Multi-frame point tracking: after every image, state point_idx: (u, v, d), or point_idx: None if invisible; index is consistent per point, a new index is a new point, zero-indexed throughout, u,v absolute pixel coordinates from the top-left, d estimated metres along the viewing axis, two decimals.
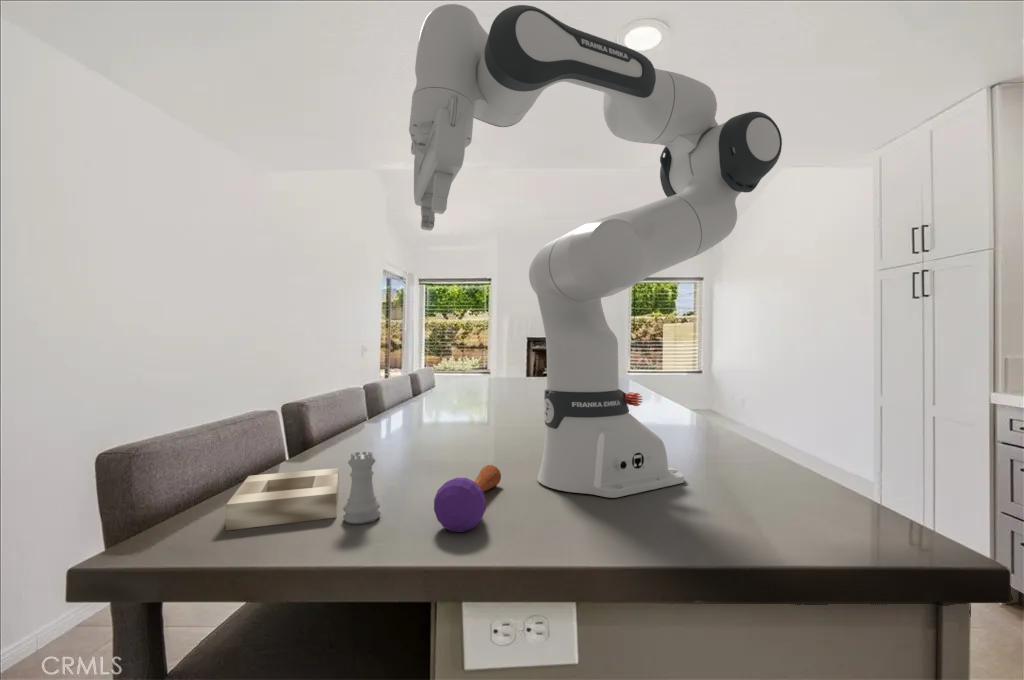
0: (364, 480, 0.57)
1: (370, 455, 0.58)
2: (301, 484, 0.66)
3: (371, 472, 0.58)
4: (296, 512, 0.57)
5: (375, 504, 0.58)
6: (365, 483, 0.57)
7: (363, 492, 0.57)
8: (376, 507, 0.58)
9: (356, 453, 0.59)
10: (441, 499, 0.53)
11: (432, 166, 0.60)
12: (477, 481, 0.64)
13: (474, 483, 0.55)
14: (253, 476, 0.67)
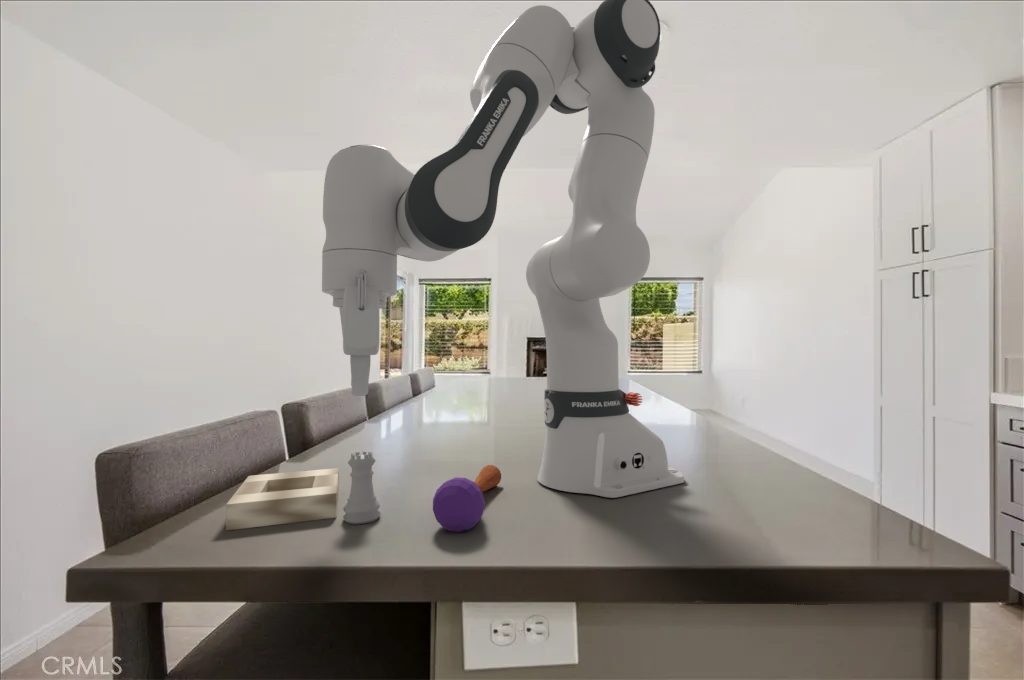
0: (364, 480, 0.57)
1: (370, 455, 0.58)
2: (301, 484, 0.66)
3: (371, 472, 0.58)
4: (296, 512, 0.57)
5: (375, 504, 0.58)
6: (365, 483, 0.57)
7: (363, 492, 0.57)
8: (376, 507, 0.58)
9: (356, 453, 0.59)
10: (439, 499, 0.53)
11: None
12: (477, 481, 0.64)
13: (473, 483, 0.55)
14: (253, 476, 0.67)
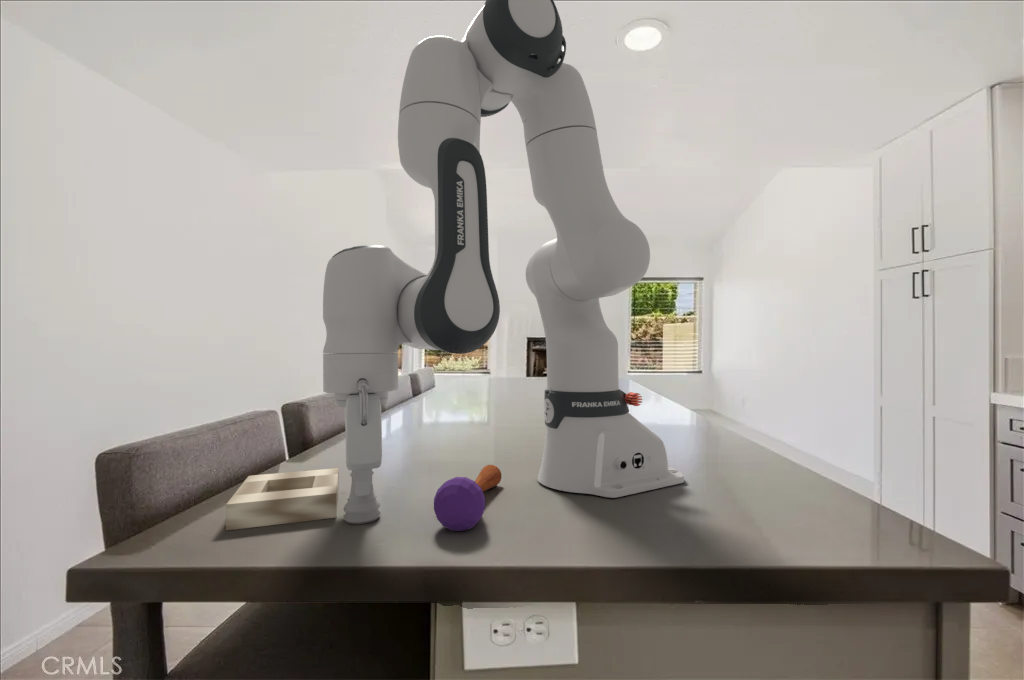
0: None
1: None
2: (301, 484, 0.66)
3: None
4: (296, 512, 0.57)
5: (375, 504, 0.58)
6: None
7: None
8: (376, 507, 0.58)
9: None
10: (440, 498, 0.53)
11: None
12: (477, 481, 0.64)
13: (473, 482, 0.55)
14: (253, 476, 0.67)
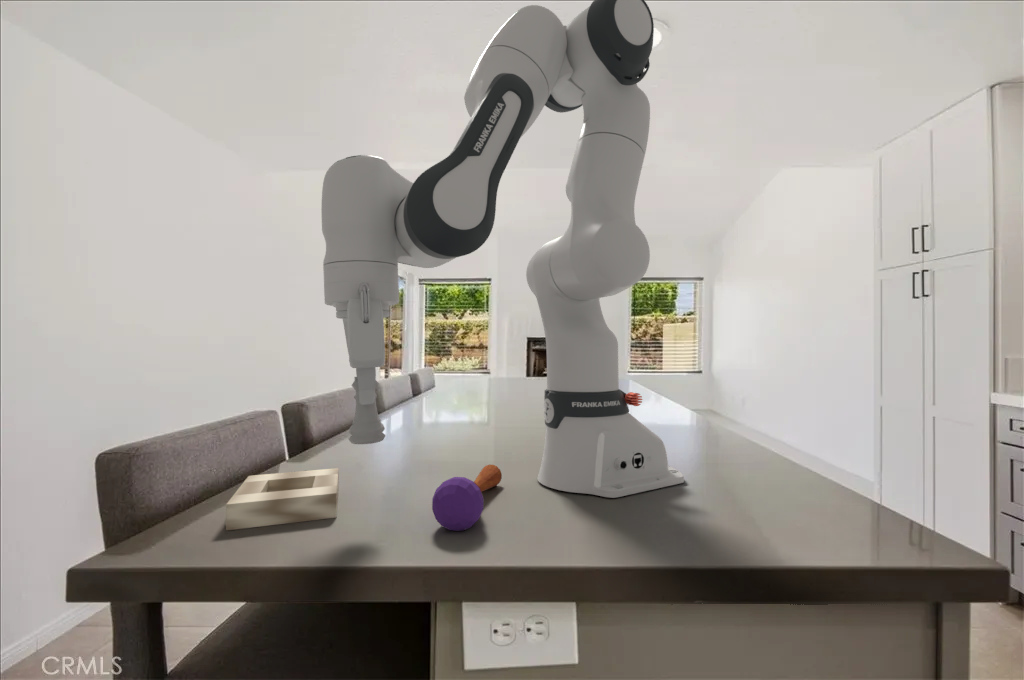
0: None
1: None
2: (301, 484, 0.66)
3: None
4: (296, 512, 0.57)
5: (379, 426, 0.58)
6: (368, 404, 0.58)
7: (367, 413, 0.58)
8: (380, 428, 0.58)
9: None
10: (438, 498, 0.53)
11: None
12: (477, 480, 0.64)
13: (472, 482, 0.55)
14: (253, 476, 0.67)
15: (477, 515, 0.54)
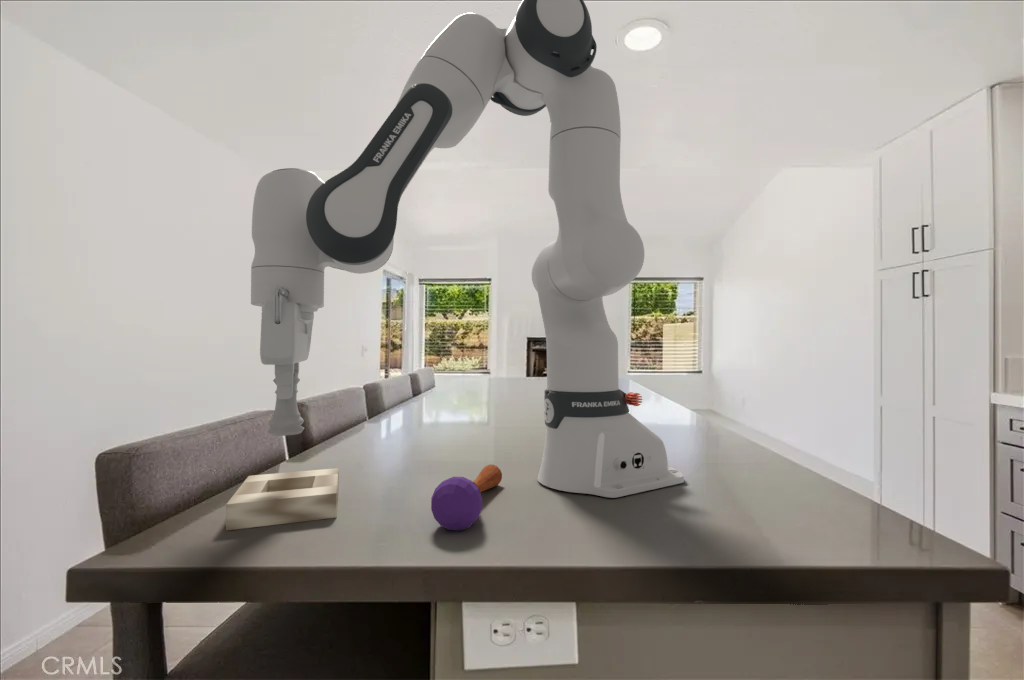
0: None
1: (294, 374, 0.63)
2: (301, 484, 0.66)
3: (294, 390, 0.63)
4: (296, 512, 0.57)
5: (297, 419, 0.62)
6: (287, 399, 0.62)
7: (285, 407, 0.62)
8: (298, 422, 0.62)
9: None
10: (437, 498, 0.54)
11: None
12: (476, 480, 0.65)
13: (471, 482, 0.56)
14: (253, 476, 0.67)
15: (476, 515, 0.54)
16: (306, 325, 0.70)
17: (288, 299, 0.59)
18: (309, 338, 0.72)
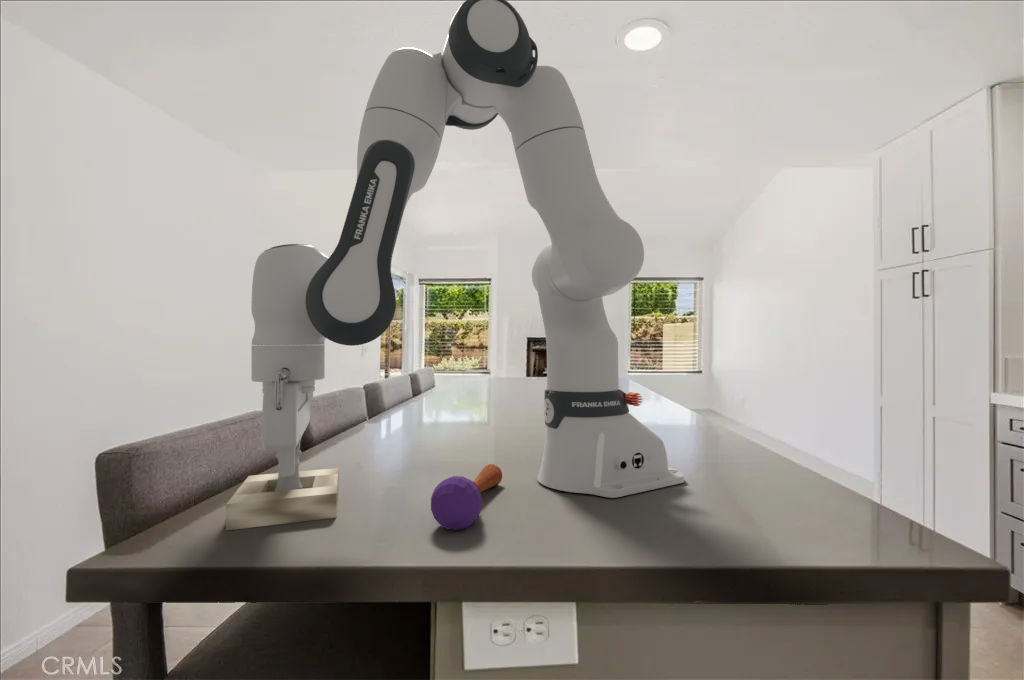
0: None
1: (296, 448, 0.63)
2: (301, 484, 0.66)
3: (296, 464, 0.63)
4: (296, 512, 0.57)
5: None
6: None
7: (288, 482, 0.62)
8: None
9: None
10: (437, 497, 0.54)
11: None
12: (477, 480, 0.65)
13: (470, 482, 0.56)
14: (253, 476, 0.67)
15: (475, 514, 0.54)
16: None
17: (289, 378, 0.59)
18: (310, 403, 0.72)
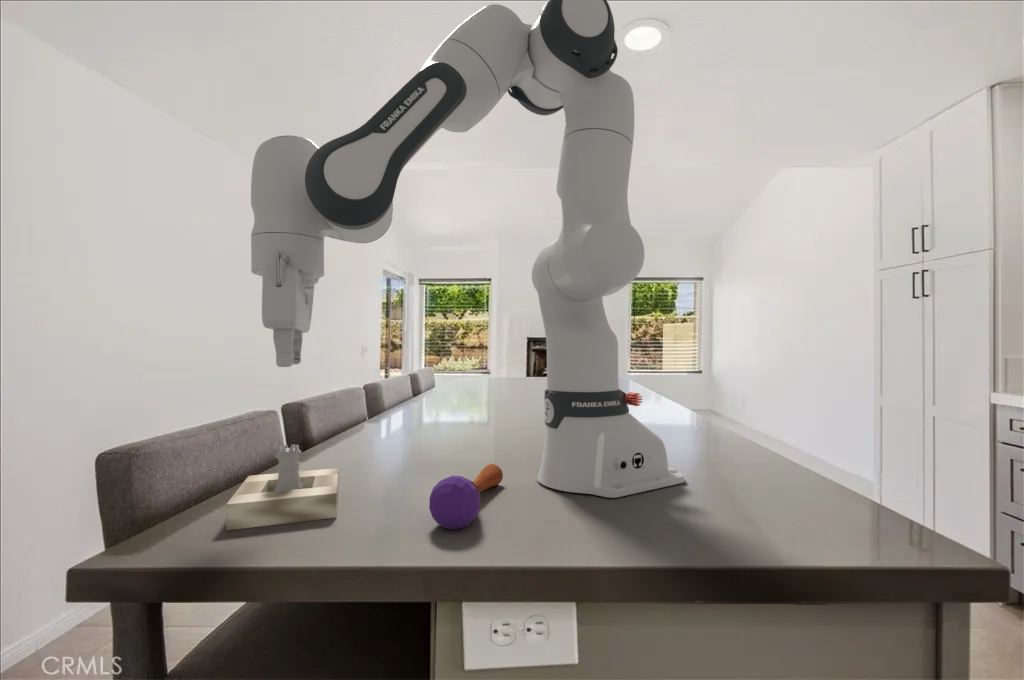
0: (288, 471, 0.62)
1: (295, 448, 0.63)
2: (301, 484, 0.66)
3: (296, 464, 0.63)
4: (296, 512, 0.57)
5: None
6: (290, 473, 0.62)
7: (288, 482, 0.62)
8: None
9: (284, 446, 0.64)
10: (435, 497, 0.54)
11: None
12: (476, 480, 0.65)
13: (469, 481, 0.56)
14: (253, 476, 0.67)
15: (473, 514, 0.54)
16: (307, 297, 0.71)
17: (289, 265, 0.59)
18: (310, 310, 0.72)
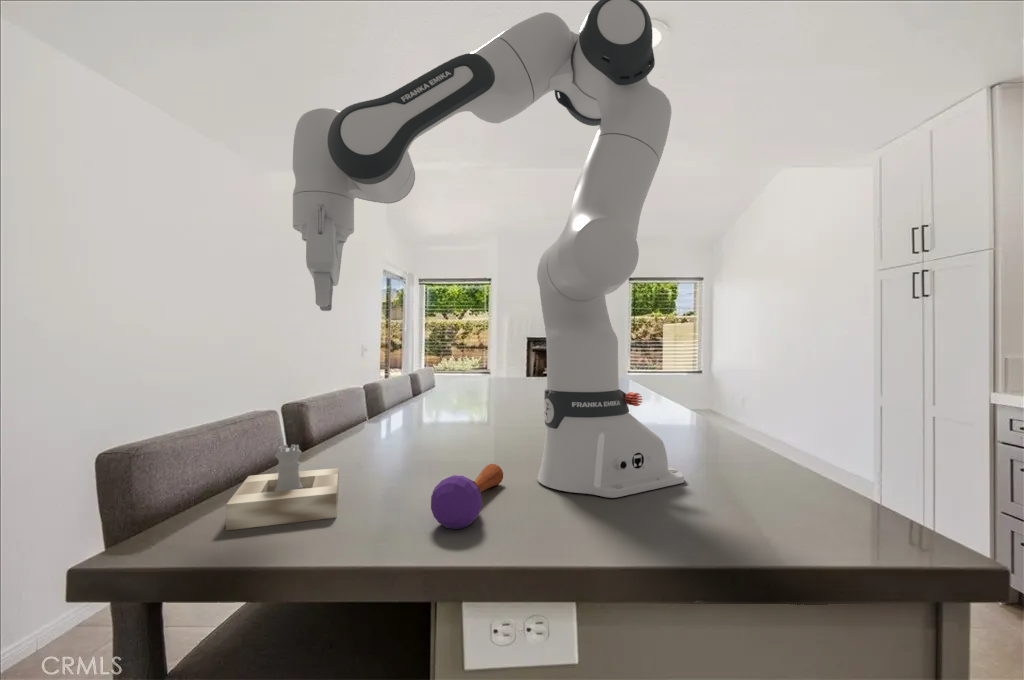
0: (288, 471, 0.62)
1: (295, 448, 0.63)
2: (301, 484, 0.66)
3: (296, 464, 0.63)
4: (296, 512, 0.57)
5: None
6: (290, 473, 0.62)
7: (288, 482, 0.62)
8: None
9: (284, 446, 0.64)
10: (436, 496, 0.54)
11: (308, 269, 0.66)
12: (477, 479, 0.65)
13: (470, 481, 0.56)
14: (253, 476, 0.67)
15: (475, 513, 0.54)
16: (337, 253, 0.80)
17: None
18: (339, 266, 0.82)
